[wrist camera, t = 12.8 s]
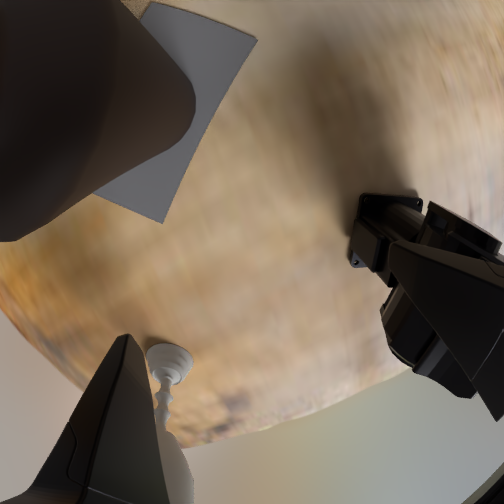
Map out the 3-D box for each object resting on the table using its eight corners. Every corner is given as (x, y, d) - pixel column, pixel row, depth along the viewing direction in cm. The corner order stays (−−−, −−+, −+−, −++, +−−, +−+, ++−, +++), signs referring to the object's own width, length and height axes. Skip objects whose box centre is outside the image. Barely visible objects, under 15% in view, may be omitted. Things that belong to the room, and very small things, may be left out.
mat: (257, 41, 15) (257, 39, 15) (163, 222, 20) (162, 224, 20) (153, 3, 13) (152, 2, 13) (71, 181, 18) (69, 182, 18)
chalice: (125, 340, 25) (83, 509, 9) (186, 329, 25) (173, 525, 9) (156, 384, 29) (140, 529, 12) (211, 376, 28) (216, 535, 12)
